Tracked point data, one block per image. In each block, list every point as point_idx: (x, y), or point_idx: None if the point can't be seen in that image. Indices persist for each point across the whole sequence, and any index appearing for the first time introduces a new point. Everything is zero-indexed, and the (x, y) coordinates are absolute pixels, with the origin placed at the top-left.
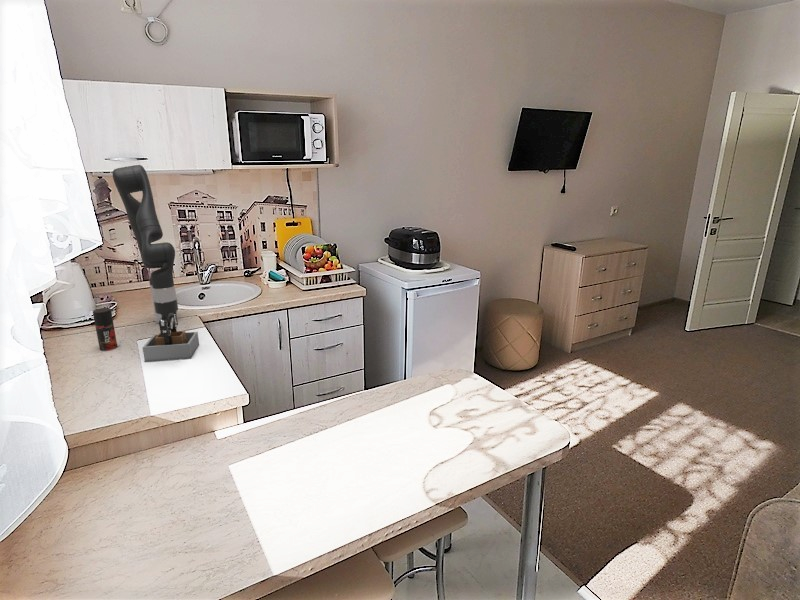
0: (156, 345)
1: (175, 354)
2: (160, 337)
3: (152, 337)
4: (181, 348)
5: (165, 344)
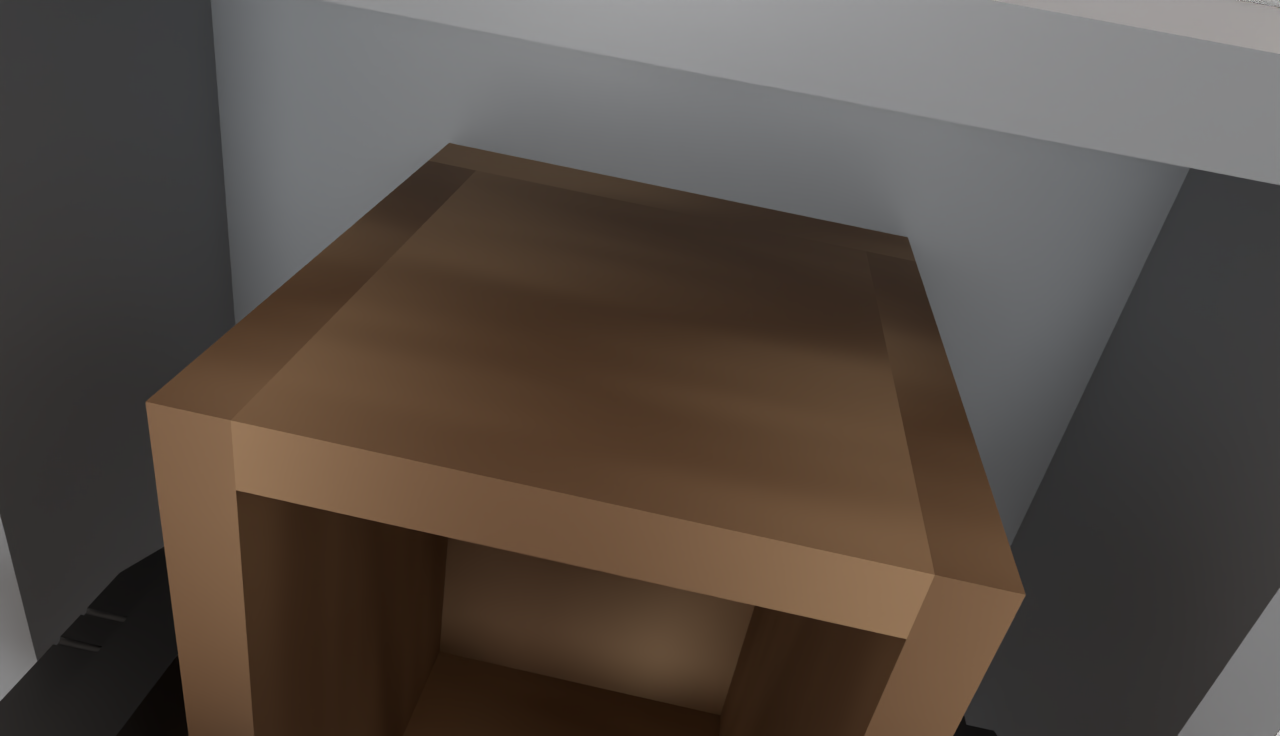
0: (325, 265)
1: None
2: (211, 606)
3: (1175, 101)
4: None
5: None
